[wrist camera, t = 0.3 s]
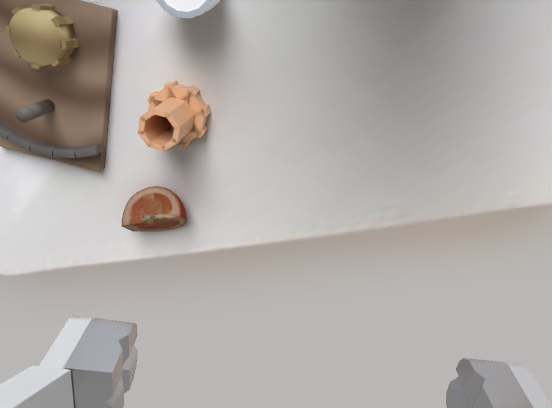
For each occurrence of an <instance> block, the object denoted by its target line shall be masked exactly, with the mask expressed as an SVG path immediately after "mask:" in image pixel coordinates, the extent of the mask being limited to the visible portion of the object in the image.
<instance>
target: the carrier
mask: <svg viewBox="0 0 552 408" xmlns="http://www.w3.org/2000/svg"><path fill="white" fill-rule="evenodd" d="M116 21H117V10H114V9H111V8H107V7H103V6H99V5H95V4H92V3H88V2H84V1H80V0H0V146H1V147H5V148H9V149H13V150H17V151H21V152H25V153H29V154H33V155H37V156H41V157H45V158H49V159H53V160H57V161H61V162H64V163H68V164H72V165H76V166H80V167H84V168H88V169H92V170H96V171H101V170H102V169H103V168H105V156H106V144H107V131H108V119H109V107H110V95H111V82H112V70H113V58H114V46H115V33H116Z"/></svg>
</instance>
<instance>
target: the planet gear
mask: <svg viewBox="0 0 552 408" xmlns="http://www.w3.org/2000/svg"><path fill="white" fill-rule="evenodd" d="M164 87H165V89H163V90H162V91H160V92H157V91H155V92H153V93H152V94H150V96H149V98H148V99H147V101H148V102H149V111H148V112H147V113H145V114H144V115H142V116H141V117H140V121H139V130H138V134H139V135H140V136H141V138H142V139H143V140H144V142H145V143H146V145H147V146H148V147H150V148H154V149H158V150H162V151H165V150H167V149H169V148H170V147H172V146H174V145H175V144H179V147H185V146H188V145H189V144H190V143H191V140H193V139H194V138H196V137H199V138H201V137H202V136H203V134H204V133H205V132H206V130H207V129H208V128H207V127H206V121H207V116H208V115H209V114H210V113H211V111H210V107H209V105H206V104H205V103H204V101H203V100H202V98H201V97H200V95H199V93H198V92H199V91H200V90H198V89H197V88H196V87H194V86H191V87H186V86H182V85H178V84H177V81H175V82H169V83H167V84H165V85H164Z"/></svg>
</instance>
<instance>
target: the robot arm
mask: <svg viewBox="0 0 552 408" xmlns="http://www.w3.org/2000/svg"><path fill="white" fill-rule="evenodd" d="M136 337H137V325H136V324H135V323H130V322H122V321H115V320H107V319H99V318H88V317H80V316H72V317H71V318H70V319H68V320H67V322H66V324H65V325H64V327H63V329H62V330H61V332H60V333H59V335H58V337H57V338H56V340H55V341H54V343H53V344H52V346H51V347H50V349H49V351H48V352H47V354H46V356H45V357H44V359H43V360H42V362H41V363H40V365H39V366H31V367H29V368H28V369H26V370H24V371H22V372H21V373H19V374H18V375H16V376H14V377H12V378H11V379H9V380H7V381H6V382H4V383H2V384H0V408H123V406H124V393H125V392H127V391H128V390H129V389H130V387H131V384H132V381H133V378H134V373H135V369H136V362H137V349H136V348H135V346H134V342H135V340H136ZM456 371H457V373H458V375H459V377H457V378H456V379H454V380H453V381H451V382H450V384H449V387H448V390H447V397H446V405H447V408H552V405H551V403H550V401H549V400H548V398H547V397H546V395H545V394H544V392H543V391H542V389H541V388H540V386H539V385H538V383H537V382H536V380H535V379H534V377H533V376H532V374H531V372H530V371H529V369H528V368H527V367H526V366H525V365H523V364H521V363H520V364H519V363H510V362H496V361H486V360H477V359H476V360H475V359H465V358H463V359H462V360H461V361H460V362H459V363H458V366H457V368H456Z"/></svg>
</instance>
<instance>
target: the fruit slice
mask: <svg viewBox="0 0 552 408" xmlns="http://www.w3.org/2000/svg"><path fill="white" fill-rule="evenodd" d="M185 223H186V211H185V208H184V205H183V203H182V202H181V200H180V199H179V197H178V196H177V195H176V194H174V193H173V192H172V191H170V190H168V189H166V188H163V187H158V186H157V187H148V188H146V189H143V190H141V191H139V192H137V193H136V194H135V195H133V196H132V197H131V198H130V200H129V201H128V203H127V204H126V207H125V209H124V212H123V217H122V227H125V228H127V229H129V230H132V231H159V230H168V229H173V228H177V227H180V226H182V225H184V224H185Z"/></svg>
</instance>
